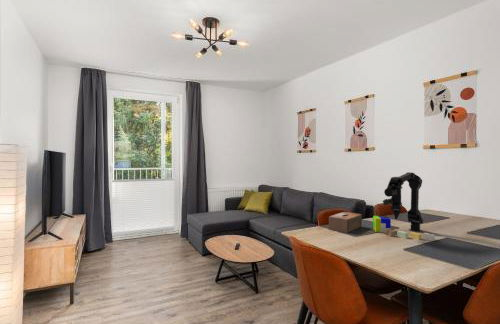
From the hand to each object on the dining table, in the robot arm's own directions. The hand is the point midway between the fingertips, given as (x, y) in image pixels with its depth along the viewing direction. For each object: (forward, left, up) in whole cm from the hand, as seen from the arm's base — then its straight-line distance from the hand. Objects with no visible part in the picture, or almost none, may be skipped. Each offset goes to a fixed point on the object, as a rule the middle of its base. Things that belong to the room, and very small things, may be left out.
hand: (396, 217), depth 199 cm
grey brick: (-13, +15, -13) cm, 23 cm away
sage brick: (-2, +4, -13) cm, 14 cm away
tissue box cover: (+15, -32, -13) cm, 38 cm away
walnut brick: (+2, -3, -13) cm, 14 cm away
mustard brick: (-7, +10, -13) cm, 18 cm away
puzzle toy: (-3, -14, -13) cm, 20 cm away
